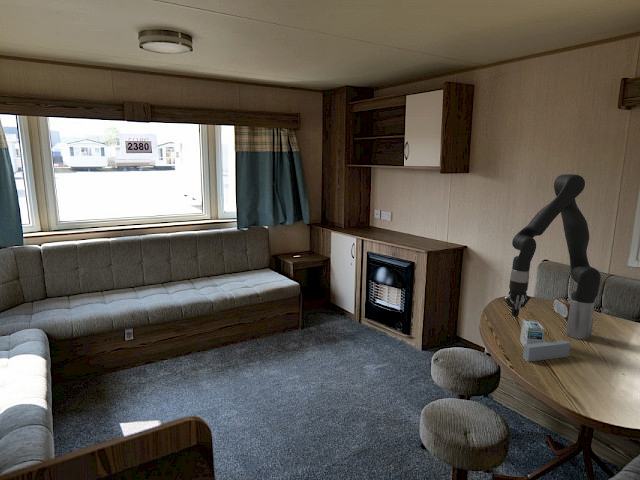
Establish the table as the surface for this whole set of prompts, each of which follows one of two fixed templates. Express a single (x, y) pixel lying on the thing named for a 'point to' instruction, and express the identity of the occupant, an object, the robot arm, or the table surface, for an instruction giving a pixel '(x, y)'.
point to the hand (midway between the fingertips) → (514, 316)
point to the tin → (561, 307)
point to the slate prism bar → (546, 350)
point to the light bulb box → (531, 332)
